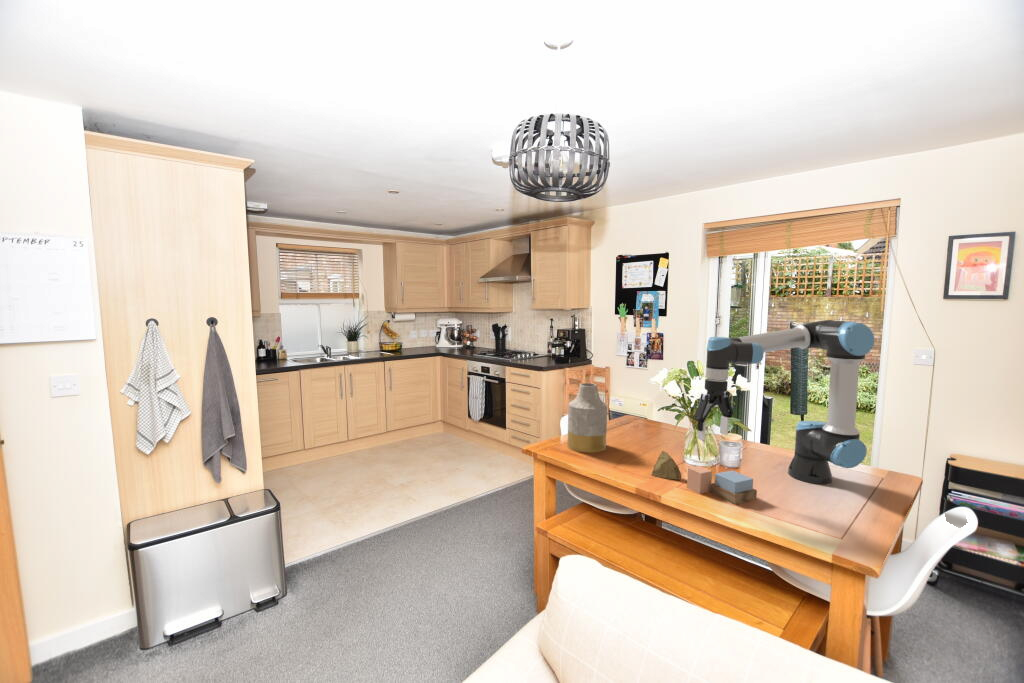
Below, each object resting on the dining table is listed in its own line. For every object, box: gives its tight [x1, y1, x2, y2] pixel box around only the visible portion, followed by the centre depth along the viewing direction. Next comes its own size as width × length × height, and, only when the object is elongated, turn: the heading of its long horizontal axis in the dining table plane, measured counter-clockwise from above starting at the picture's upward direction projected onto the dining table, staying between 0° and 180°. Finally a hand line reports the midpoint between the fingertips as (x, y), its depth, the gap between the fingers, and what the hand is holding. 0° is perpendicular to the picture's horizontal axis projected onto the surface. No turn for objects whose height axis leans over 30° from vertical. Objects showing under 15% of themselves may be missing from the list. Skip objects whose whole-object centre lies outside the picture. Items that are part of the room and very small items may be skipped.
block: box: [686, 465, 713, 495], centre depth 176 cm, size 6×6×8 cm
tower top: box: [714, 470, 754, 493], centre depth 171 cm, size 9×9×4 cm
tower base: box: [709, 482, 758, 506], centre depth 171 cm, size 11×11×4 cm
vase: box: [567, 382, 608, 454], centre depth 223 cm, size 18×18×30 cm
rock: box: [650, 450, 682, 481], centre depth 188 cm, size 11×9×10 cm
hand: (712, 436), depth 171 cm, fingers open, 13 cm apart
